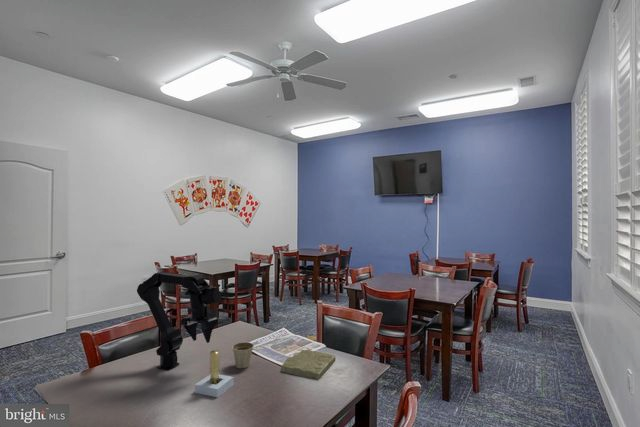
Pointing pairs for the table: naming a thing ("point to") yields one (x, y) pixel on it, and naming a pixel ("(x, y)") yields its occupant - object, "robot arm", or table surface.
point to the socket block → (214, 386)
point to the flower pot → (242, 354)
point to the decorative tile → (308, 364)
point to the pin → (214, 367)
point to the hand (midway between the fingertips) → (201, 341)
